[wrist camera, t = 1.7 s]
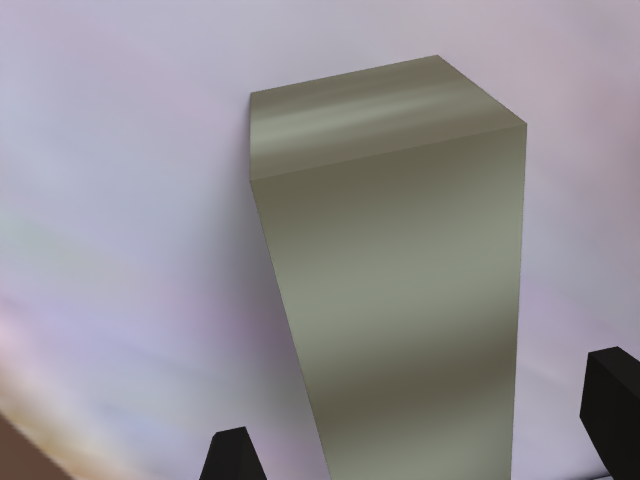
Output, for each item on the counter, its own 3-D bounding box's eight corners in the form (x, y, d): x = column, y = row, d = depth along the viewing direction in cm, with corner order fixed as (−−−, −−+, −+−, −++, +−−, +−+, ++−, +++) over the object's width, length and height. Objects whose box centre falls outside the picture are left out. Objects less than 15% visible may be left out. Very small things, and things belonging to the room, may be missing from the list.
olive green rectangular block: (451, 389, 19) (508, 525, 15) (330, 414, 19) (352, 557, 15) (434, 52, 13) (527, 123, 8) (251, 90, 13) (249, 180, 8)
